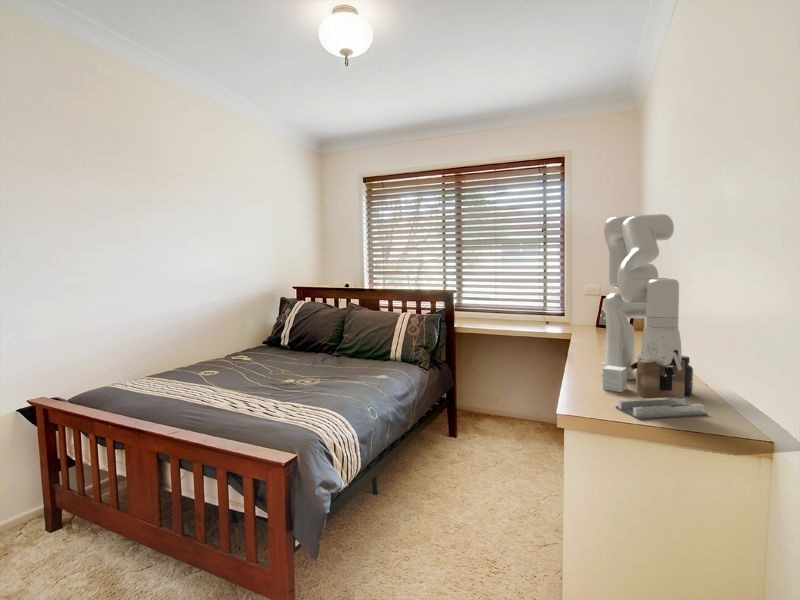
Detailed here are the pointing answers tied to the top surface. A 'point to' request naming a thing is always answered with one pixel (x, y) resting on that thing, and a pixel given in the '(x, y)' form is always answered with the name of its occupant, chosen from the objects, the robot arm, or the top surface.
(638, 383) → the walnut door panel
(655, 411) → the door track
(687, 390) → the supplement bottle
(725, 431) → the top surface
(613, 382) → the product box
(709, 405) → the top surface
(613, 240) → the robot arm
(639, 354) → the grandmother figurine
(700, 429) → the top surface
